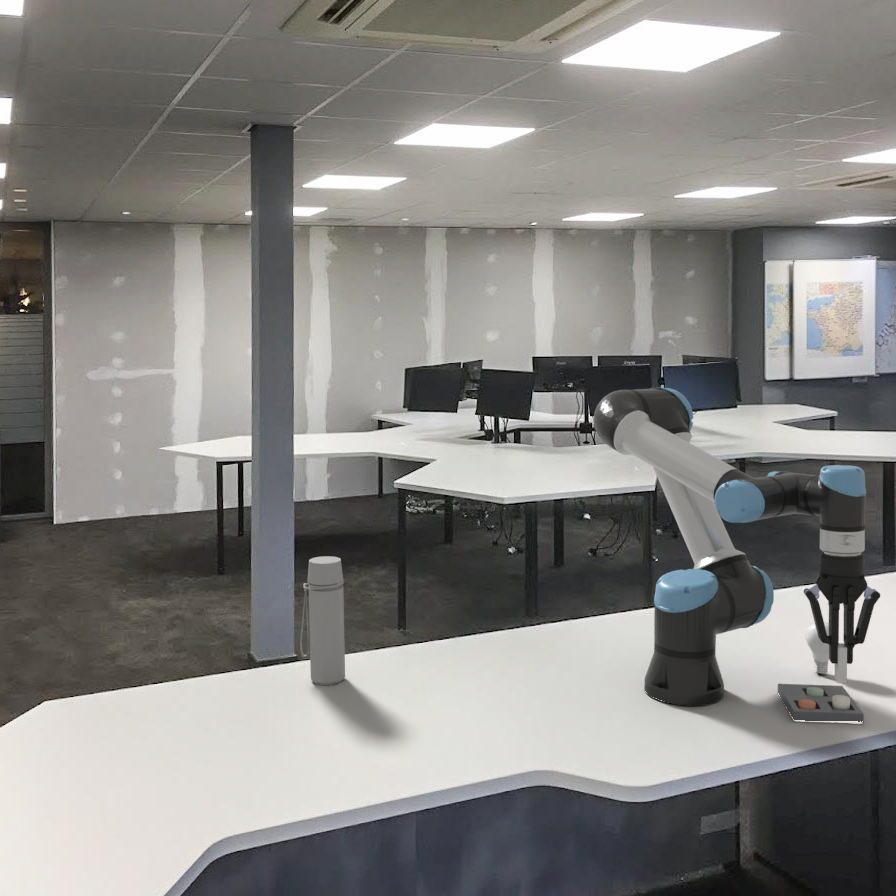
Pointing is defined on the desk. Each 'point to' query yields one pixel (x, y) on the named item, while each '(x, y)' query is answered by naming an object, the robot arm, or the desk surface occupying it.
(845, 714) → the panel
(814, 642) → the lightbulb
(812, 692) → the sage button
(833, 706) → the cream button
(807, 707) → the rust button
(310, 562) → the water bottle
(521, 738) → the desk surface
